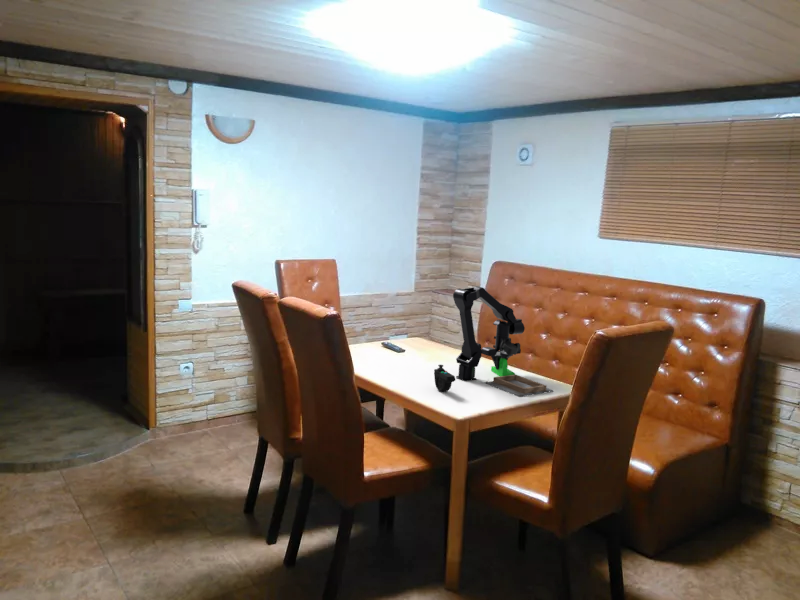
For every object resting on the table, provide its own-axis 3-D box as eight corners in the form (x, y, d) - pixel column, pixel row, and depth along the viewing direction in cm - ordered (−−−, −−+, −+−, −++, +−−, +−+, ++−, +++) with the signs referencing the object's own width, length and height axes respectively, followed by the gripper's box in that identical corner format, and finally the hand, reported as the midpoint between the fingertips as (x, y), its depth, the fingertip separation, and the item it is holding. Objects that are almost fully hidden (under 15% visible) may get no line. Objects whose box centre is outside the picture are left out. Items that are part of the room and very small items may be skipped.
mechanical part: (514, 377, 272) (516, 360, 271) (502, 377, 271) (503, 360, 269) (503, 370, 284) (504, 353, 283) (491, 370, 282) (492, 353, 281)
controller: (440, 387, 251) (442, 363, 250) (455, 396, 240) (457, 371, 239) (431, 387, 249) (432, 363, 248) (445, 396, 238) (447, 371, 237)
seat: (518, 396, 244) (519, 390, 243) (485, 383, 260) (486, 377, 260) (553, 391, 254) (553, 385, 253) (519, 379, 270) (519, 373, 270)
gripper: (498, 339, 262) (495, 375, 264) (530, 337, 272) (527, 372, 274) (481, 334, 271) (478, 369, 273) (513, 332, 281) (510, 366, 283)
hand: (499, 369), depth 276 cm, fingers closed on mechanical part, 2 cm apart
